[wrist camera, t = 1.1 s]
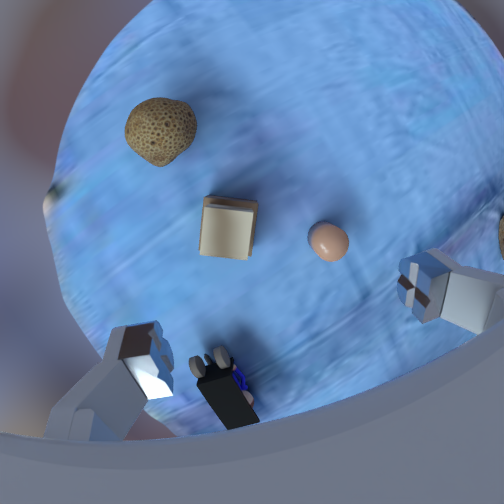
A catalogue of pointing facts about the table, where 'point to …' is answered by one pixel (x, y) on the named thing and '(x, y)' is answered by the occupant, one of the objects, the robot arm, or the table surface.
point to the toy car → (224, 389)
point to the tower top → (226, 231)
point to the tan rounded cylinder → (328, 241)
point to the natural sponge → (160, 129)
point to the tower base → (236, 203)
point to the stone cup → (501, 236)
